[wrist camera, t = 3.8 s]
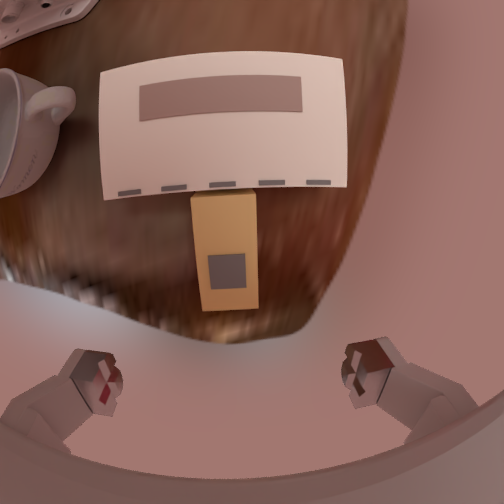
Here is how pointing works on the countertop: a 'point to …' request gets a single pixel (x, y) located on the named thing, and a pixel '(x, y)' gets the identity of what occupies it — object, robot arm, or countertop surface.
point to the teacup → (28, 128)
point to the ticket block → (222, 123)
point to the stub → (226, 248)
